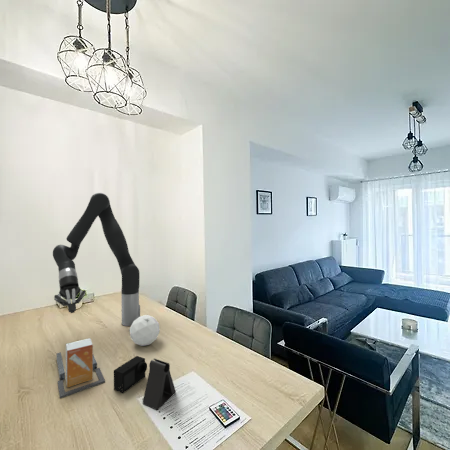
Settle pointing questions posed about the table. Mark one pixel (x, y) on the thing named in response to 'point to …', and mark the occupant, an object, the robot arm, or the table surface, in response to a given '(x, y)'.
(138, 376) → the digital camera
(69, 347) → the small box
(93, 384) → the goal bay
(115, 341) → the table surface
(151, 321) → the geodesic sphere
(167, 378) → the phone stand
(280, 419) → the table surface
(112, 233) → the robot arm
